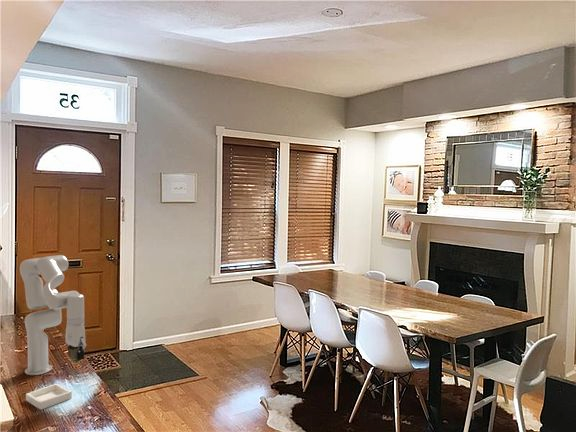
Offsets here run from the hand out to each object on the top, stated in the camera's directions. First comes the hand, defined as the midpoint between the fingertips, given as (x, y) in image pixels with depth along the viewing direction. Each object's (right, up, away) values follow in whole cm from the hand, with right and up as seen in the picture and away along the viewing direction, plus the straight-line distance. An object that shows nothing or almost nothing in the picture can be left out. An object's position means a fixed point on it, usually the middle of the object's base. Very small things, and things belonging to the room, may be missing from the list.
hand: (76, 357), depth 217 cm
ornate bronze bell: (0, -3, 0) cm, 3 cm away
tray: (-10, -18, -5) cm, 21 cm away
